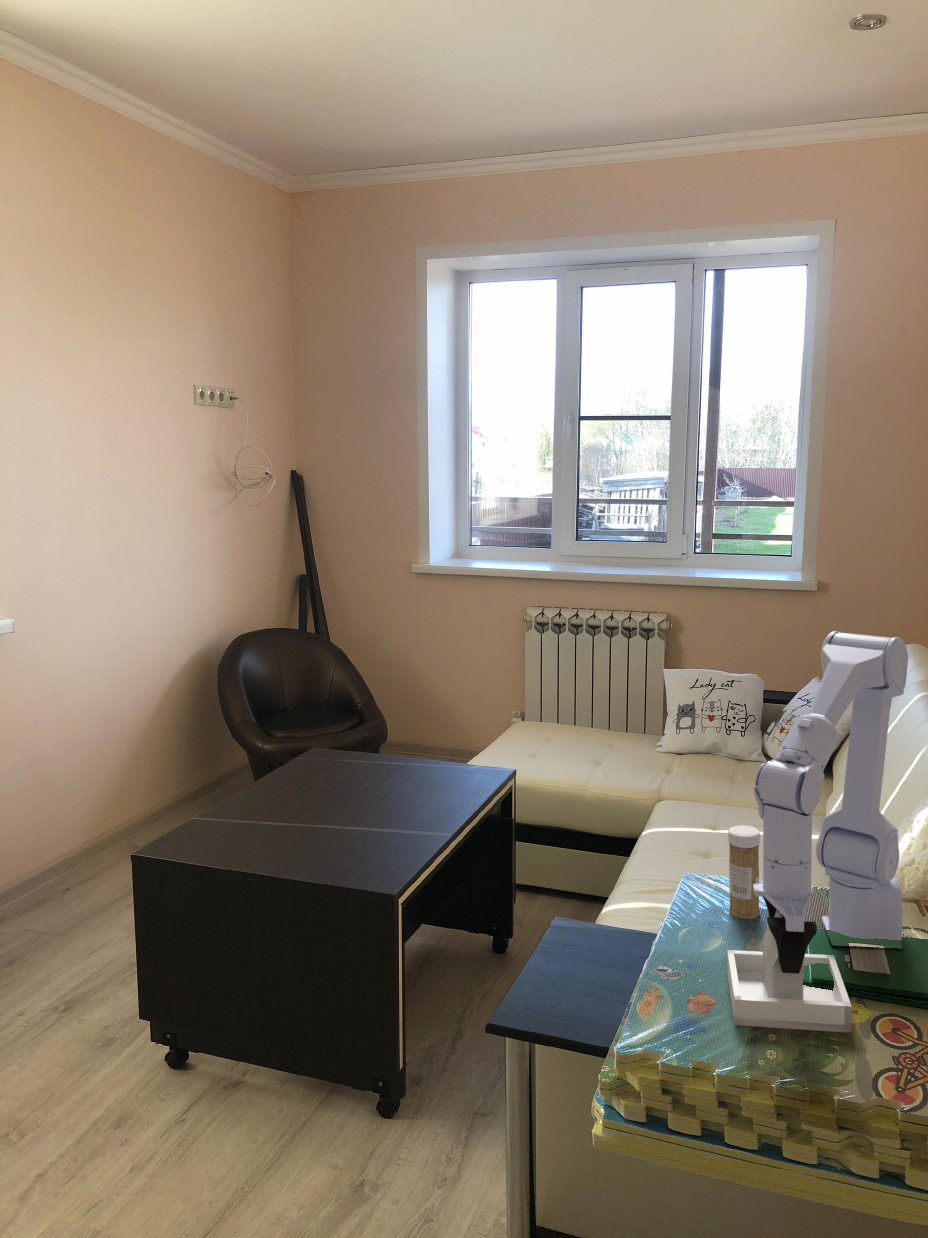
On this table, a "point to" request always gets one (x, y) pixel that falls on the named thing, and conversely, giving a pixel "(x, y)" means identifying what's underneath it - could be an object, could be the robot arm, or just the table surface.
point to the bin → (807, 1014)
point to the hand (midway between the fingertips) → (786, 955)
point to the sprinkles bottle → (743, 871)
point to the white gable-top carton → (779, 972)
